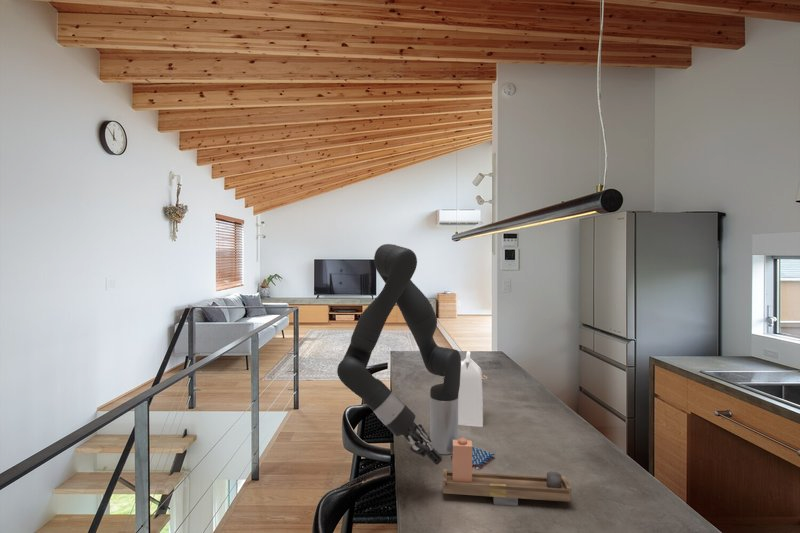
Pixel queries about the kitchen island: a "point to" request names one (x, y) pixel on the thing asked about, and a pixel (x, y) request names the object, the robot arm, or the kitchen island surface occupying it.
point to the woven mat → (480, 457)
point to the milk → (470, 394)
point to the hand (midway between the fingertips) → (439, 461)
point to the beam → (510, 487)
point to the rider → (462, 460)
